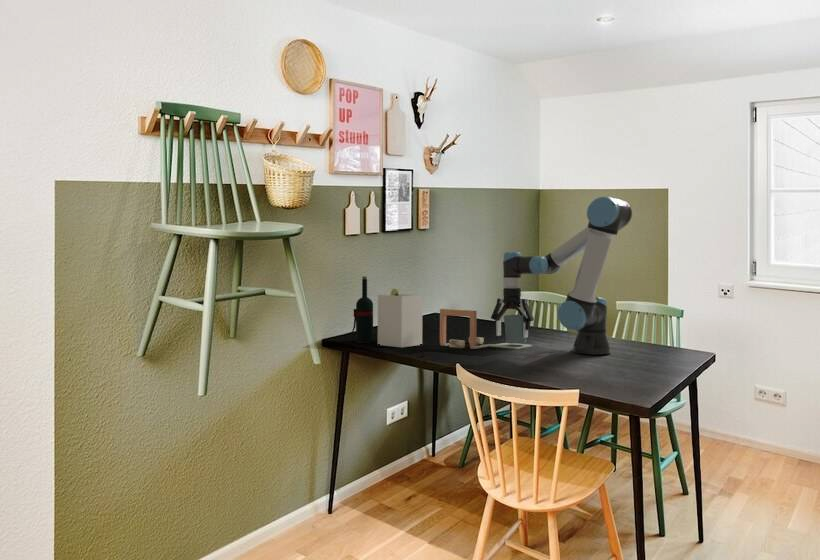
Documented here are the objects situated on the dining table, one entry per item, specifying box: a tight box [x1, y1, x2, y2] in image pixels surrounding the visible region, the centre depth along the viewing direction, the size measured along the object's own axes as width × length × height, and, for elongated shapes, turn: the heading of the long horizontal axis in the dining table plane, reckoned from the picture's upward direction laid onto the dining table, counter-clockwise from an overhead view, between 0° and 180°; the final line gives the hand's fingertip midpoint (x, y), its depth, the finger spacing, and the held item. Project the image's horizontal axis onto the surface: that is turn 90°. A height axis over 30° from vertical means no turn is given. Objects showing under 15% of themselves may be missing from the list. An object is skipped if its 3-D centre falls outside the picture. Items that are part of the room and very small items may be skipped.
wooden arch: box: [439, 308, 478, 347], centre depth 277 cm, size 18×2×15 cm, turn 50°
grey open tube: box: [503, 314, 527, 344], centre depth 279 cm, size 10×10×12 cm
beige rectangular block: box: [448, 336, 485, 349], centre depth 282 cm, size 6×18×3 cm, turn 140°
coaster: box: [490, 342, 533, 350], centre depth 280 cm, size 13×13×1 cm
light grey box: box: [377, 293, 424, 348], centre depth 285 cm, size 14×14×22 cm
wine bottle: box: [351, 276, 374, 343], centre depth 291 cm, size 8×10×30 cm
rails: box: [439, 342, 495, 350], centre depth 283 cm, size 18×15×1 cm
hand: (511, 336), depth 280 cm, fingers open, 13 cm apart
